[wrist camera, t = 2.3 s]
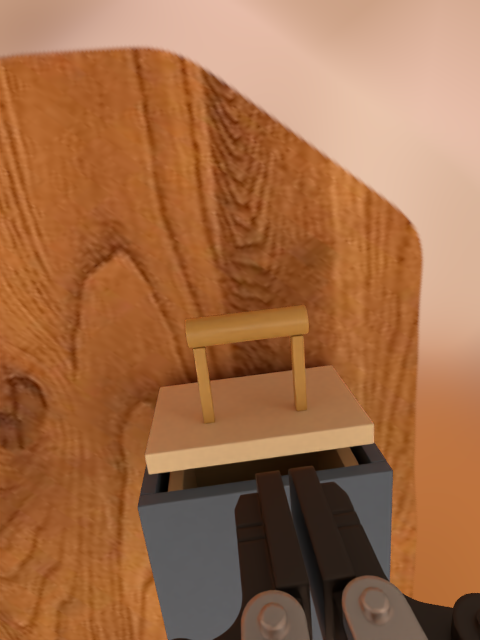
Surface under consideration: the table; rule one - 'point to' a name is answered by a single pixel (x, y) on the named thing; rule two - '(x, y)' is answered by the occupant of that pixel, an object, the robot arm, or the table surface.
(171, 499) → the cabinet
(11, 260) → the table surface
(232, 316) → the drawer
